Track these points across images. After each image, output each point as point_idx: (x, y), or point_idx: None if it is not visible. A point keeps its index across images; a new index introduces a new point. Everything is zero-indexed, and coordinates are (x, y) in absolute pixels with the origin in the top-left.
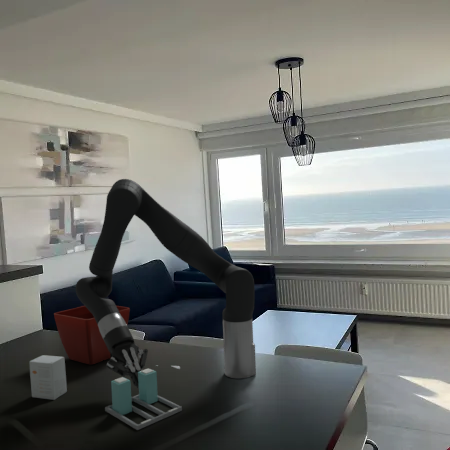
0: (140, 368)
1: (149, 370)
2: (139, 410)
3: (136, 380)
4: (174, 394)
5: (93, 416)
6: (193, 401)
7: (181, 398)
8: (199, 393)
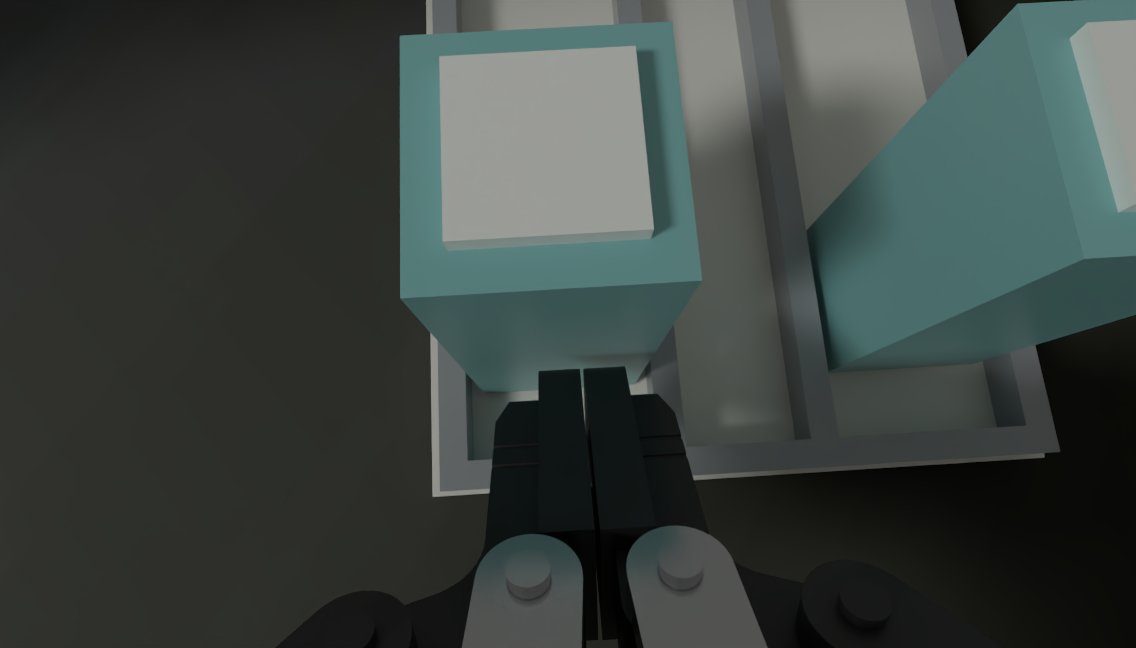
0: (452, 614)
1: (499, 117)
2: (780, 116)
3: (653, 430)
4: (208, 357)
5: (1117, 516)
6: (202, 96)
7: (229, 226)
8: (30, 192)
